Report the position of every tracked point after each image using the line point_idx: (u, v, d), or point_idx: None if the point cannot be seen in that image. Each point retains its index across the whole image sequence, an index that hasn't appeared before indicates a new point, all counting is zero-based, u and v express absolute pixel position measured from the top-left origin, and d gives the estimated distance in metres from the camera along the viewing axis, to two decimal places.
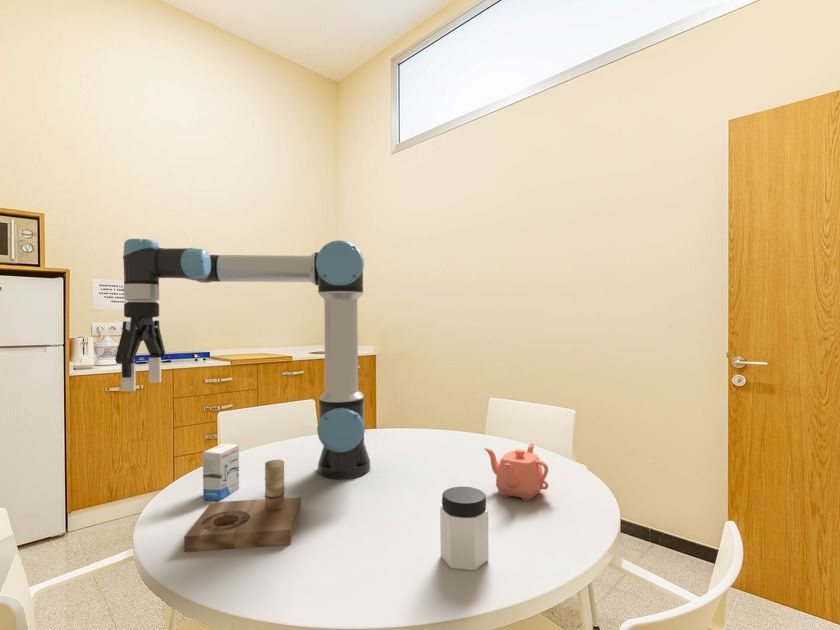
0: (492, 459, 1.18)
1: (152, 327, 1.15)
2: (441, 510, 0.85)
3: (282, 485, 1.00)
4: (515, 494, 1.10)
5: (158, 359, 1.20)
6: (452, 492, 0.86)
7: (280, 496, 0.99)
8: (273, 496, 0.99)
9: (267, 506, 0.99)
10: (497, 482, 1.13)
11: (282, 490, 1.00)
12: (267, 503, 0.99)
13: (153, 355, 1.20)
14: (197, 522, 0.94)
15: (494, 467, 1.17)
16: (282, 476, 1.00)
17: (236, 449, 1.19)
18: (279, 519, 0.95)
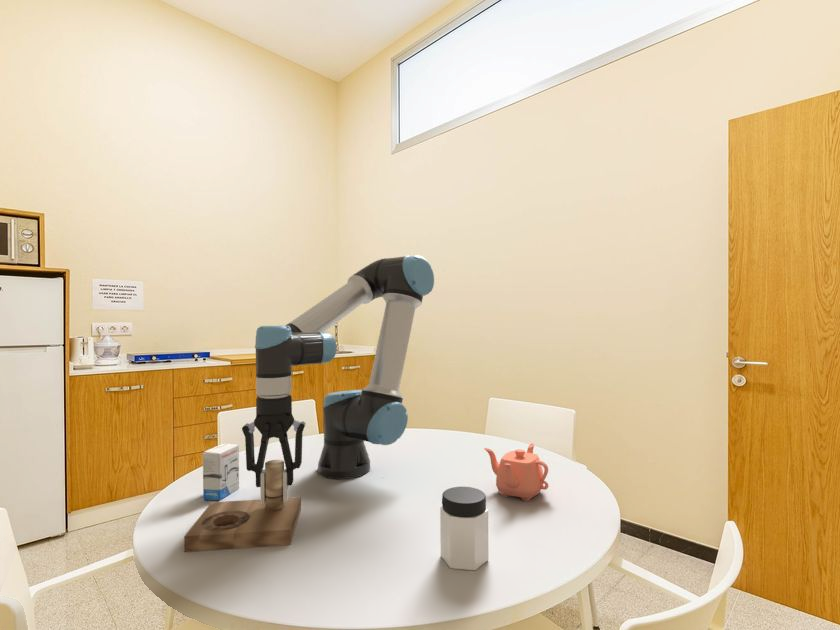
0: (492, 459, 1.18)
1: (278, 426, 0.99)
2: (441, 510, 0.85)
3: (282, 485, 1.00)
4: (515, 494, 1.10)
5: (283, 474, 1.00)
6: (452, 492, 0.86)
7: (280, 496, 0.99)
8: (273, 496, 0.99)
9: (267, 506, 0.99)
10: (497, 482, 1.13)
11: (282, 490, 1.00)
12: (267, 503, 0.99)
13: None
14: (197, 522, 0.94)
15: (494, 467, 1.17)
16: (282, 476, 1.00)
17: (236, 449, 1.19)
18: (279, 519, 0.95)
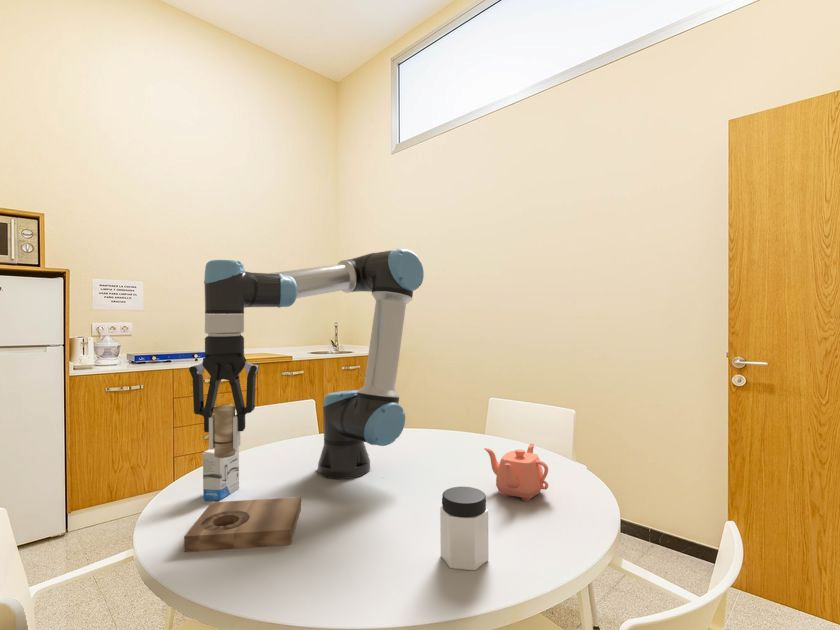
0: (492, 459, 1.18)
1: (227, 366, 0.93)
2: (441, 510, 0.85)
3: (232, 430, 0.94)
4: (515, 494, 1.10)
5: None
6: (452, 492, 0.86)
7: (229, 442, 0.93)
8: (222, 442, 0.92)
9: (216, 452, 0.93)
10: (497, 482, 1.13)
11: (232, 436, 0.94)
12: (216, 449, 0.93)
13: None
14: (197, 522, 0.94)
15: (494, 467, 1.17)
16: (232, 421, 0.94)
17: (236, 449, 1.19)
18: (279, 519, 0.95)
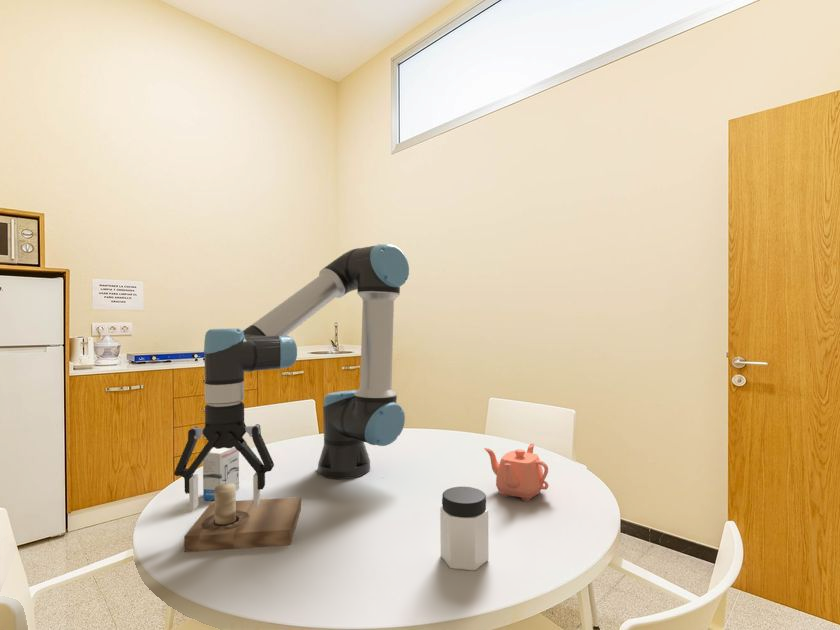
0: (492, 459, 1.18)
1: (228, 436, 0.93)
2: (441, 510, 0.85)
3: (233, 511, 0.94)
4: (515, 494, 1.10)
5: None
6: (452, 492, 0.86)
7: (230, 523, 0.93)
8: (223, 523, 0.93)
9: None
10: (497, 482, 1.13)
11: (233, 516, 0.94)
12: None
13: None
14: (197, 522, 0.94)
15: (494, 467, 1.17)
16: (233, 501, 0.94)
17: (236, 449, 1.19)
18: (279, 519, 0.95)
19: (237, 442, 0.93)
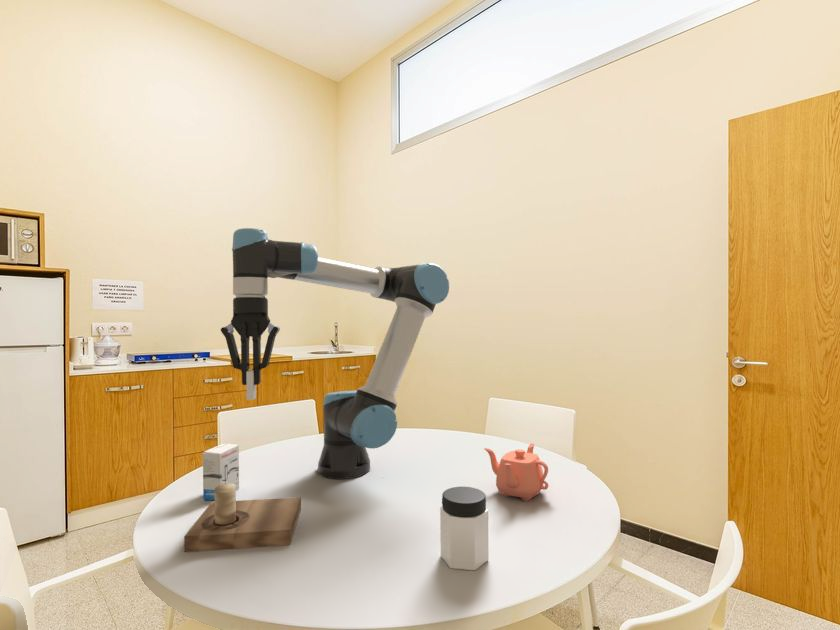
0: (492, 459, 1.18)
1: (254, 324, 1.03)
2: (441, 510, 0.85)
3: (233, 511, 0.94)
4: (515, 494, 1.10)
5: None
6: (452, 492, 0.86)
7: (230, 523, 0.93)
8: (223, 523, 0.93)
9: None
10: (497, 482, 1.13)
11: (233, 516, 0.94)
12: None
13: None
14: (197, 522, 0.94)
15: (494, 467, 1.17)
16: (233, 501, 0.94)
17: (236, 449, 1.19)
18: (279, 519, 0.95)
19: (256, 334, 1.03)
